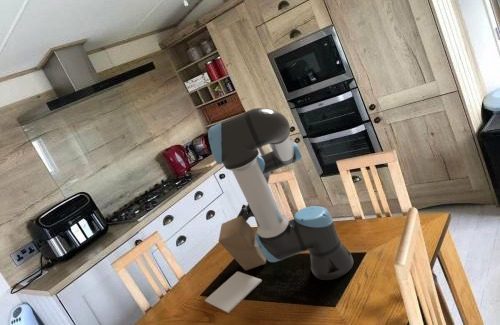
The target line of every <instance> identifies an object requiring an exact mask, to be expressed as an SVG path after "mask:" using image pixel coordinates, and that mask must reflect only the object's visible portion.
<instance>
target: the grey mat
mask: <svg viewBox="0 0 500 325" xmlns="http://www.w3.org/2000/svg"><path fill="white" fill-rule="evenodd" d="M262 281H263V280H262V279H261V278H258V277H255V276H253V275H249V274H248V273H247V274H246V273H244V272H241V271H236V272H235V273H233V275H231V276H230V277H229V278H228V279H227V280H225V281H224V282H223V283H222V284H220V286H219V287H218V288H217V289H215V290H214V291H213V292H212V293H211V294H210V295H209V296H208V297H206V299H204V302H206V303H207V304H209V305H211V306H213V307H216V308H217V309H220V310H221V311H223V312H225V313H227V314H229V313H230V312H231V311H232V310H234V309H235V307H236V306H238V305H239V304H240V302H242V301H243V300H244V299H245V298H246V297H247V296H248V295H249V294H251V292H252V291H253V290H255V289H256V288H257V286H259V284H261V283H262Z"/></svg>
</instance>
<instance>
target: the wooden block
mask: <svg viewBox="0 0 500 325" xmlns="http://www.w3.org/2000/svg"><path fill="white" fill-rule="evenodd" d="M256 232H257V231H255V230H254V229H253V227H252V226H251V225H250V224H249V222H248V221H246V220H245V219H244V218H243V217H242V216H239V217H237V216H236V217H235V218H232V219H230V220H227V221H225V222H222V223H221V226H220V230H219V237H218V242H219V243H220V245H221V246H222V247H223V249H225V250H226V251H227V252H228V253H229V255H231V257H232V258H233V259H234V260H235V261H236V262H237V263H238V264H239V265H240V266H241V268H242V269H243V270H244V271H249V270H252V269H254V268H258V267H259V266H260V267H261V266H262V265H263V266H264V265H266V264H267V259H266V258H265V257H264V255H263V254H262V252H261V250H260V248H259V247H255V246H254V242H255V237H256Z"/></svg>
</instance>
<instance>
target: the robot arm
mask: <svg viewBox="0 0 500 325" xmlns="http://www.w3.org/2000/svg"><path fill="white" fill-rule="evenodd" d="M290 134H291V125H290V123H289V121H288V119H287V117H286V116H285V115H284V114H283V113H281V112H279V111H277V110H275V109H272V108H267V107H257V108H251V109H249V110H247V111H245V112H243V113H240V114H237V115H235V116H233V117H231V118H227V119H226V120H225V119H224V120H223V121H220V122H218V123H217V124H215V125H213V126H211V127H209V129H208V131H207V136H208V143H209V145H210V146H209V147H210V150H211V153H212V156H213V159H214V161H215V163H216V164H217V165H223V166H224V168H225V169H226V170H227V171H231V172H232V174H233V176H234V178H235V180H236V182H237V184H238V187H239V188H240V191H241V192H242V194H243V196H244V198H245V200H246V203H247V205H246V204H242V207H241V209H240V211H239V213H238V214H237V216H236V218H237V217H239V216H242V217H243V218H244V219H245V220H246V222H248V220H249V219H250V218H253V217H254V220H255V222H256V225H257V227H256V228H257V229H256V231H255V232H256V237H255V242H254V246H255V247H259V248H260V250H261V252H262V254H263V255H264V257H265V258H266V261H268V262H270V263H276V262H280V261H283V260H285V259H288V258H290V257H294V256H295V255H298V254H299V255H300V254H301V253H303V252H306V251H308V252H309V257H310V269H311V272H312V274H313V275H314V278H317V279H319V280H321V281H330V280H335V279H336V280H337V279H339V278H340V277H342V276H345V275H346V274H348V272H350V270H351V269H352V268H353V266H354V259H353V256H352V254H351V252H350V250H348V249H347V247H345V245H344V243H342V242H341V239H340V236H339V233H338V231H337V229H336V227H335V225H334V219H333V218H332V216H331V213H330V211H329V210H328V209H327V208H326V207H323V206H319V205H311V206H306V207H304V208H303V207H302V208H301V209H299V210H298V211H296V213H295V215H294V218H293V219H290V220H289V218H288V217H287V216H286V215H285V214H282V213H281V211H280V208H279V206H278V203H277V202H276V200H275V197H274V195H273V192H272V191H271V188H270V186H269V181H270V175H271V173H272V172H274V171H276V170H279V169H281V168H284V167H286V166H289V165H291V164H295V163H296V162H298V161H300V160H302V158H303V156H302V153H301V151H300V148H299V146H298V144H297V142H292V140H291V139H292V138H291V136H290ZM267 145H269V146H270V148H271V149H272V151H269V152H266V153H264V154H262V155H260V154H259V153H260V152H259V150H258V149H260V148H262V147H265V146H267Z"/></svg>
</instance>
